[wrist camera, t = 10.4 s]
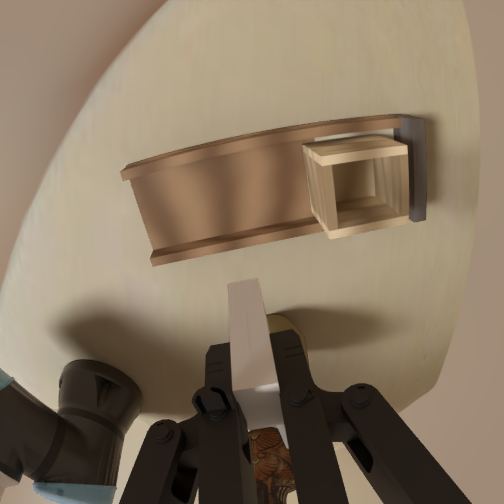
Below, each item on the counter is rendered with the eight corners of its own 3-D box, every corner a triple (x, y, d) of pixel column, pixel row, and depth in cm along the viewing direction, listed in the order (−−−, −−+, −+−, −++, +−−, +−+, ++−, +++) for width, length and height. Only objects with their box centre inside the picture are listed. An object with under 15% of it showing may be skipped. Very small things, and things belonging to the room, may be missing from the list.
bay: (158, 254, 36) (149, 277, 32) (128, 164, 31) (113, 176, 27) (405, 204, 35) (425, 219, 31) (400, 113, 30) (423, 118, 26)
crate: (311, 211, 34) (330, 239, 27) (301, 143, 30) (320, 156, 24) (379, 198, 33) (408, 223, 27) (374, 133, 30) (407, 145, 24)
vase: (246, 436, 56) (257, 573, 29) (217, 407, 50) (221, 571, 24) (302, 421, 55) (329, 562, 28) (281, 389, 49) (310, 562, 22)
